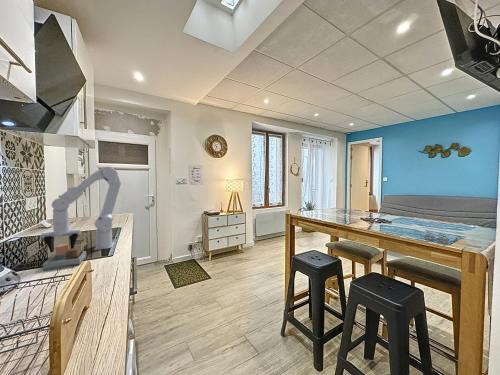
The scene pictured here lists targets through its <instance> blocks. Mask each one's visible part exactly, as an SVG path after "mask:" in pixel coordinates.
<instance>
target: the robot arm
mask: <svg viewBox="0 0 500 375" xmlns="http://www.w3.org/2000/svg"><path fill="white" fill-rule="evenodd" d="M101 180H105V181H106V182H107V184H108V185H109V186H108V188H107V193H106V196H105V199H104V202H103V206H102V209H101V212H100V214H99V215H98V218H97V219H96V220H95V222H94V226H95V228H97V229H96V230H95V248H93V250H94V251H97V250H98V251H99V250H104V249H105V250H106V249H112V248H113V246H114V245H115V242H114V241H113V230H112V227H113V222H112V221H113V212H114V208H115V205H116V201H117V198H118V195H119V191H120V188H121V180H120V178H119V172H117V170H116V169H115V167H112V166H105V167H104V166H103V167H101V168H99V169H98V170H96V171H94V172H93V173H92V174H90V175H89V176H88V177H87V178H85V179H84V180H83V181H82V182H81V183H80V184H78V185H77V186H71V187H67V189H66V191H65V192H63V193H62V194H59V195H58V196H57V197H58V198H56V199H54V200H52V202H51V207H52V208H53V210H52V226H53V227H52V228H53V231H52V232H51V231H50V232H43V233H41V234H40V238H41V239H43V242H44V243H45V245H46V246H47V247H48V249H49V252H50V253H53V252H55V237H61V236H62V237H63V236H69V243H70V249H71V248H75V245H76V241H77V240H78V238H79V235H81V234H82V230H81V229H70V219H69V218H70V217H69V216H70V215H69V207H70V204H73V203H74V202H75V201H77V200H78V199H79V198H80V197H82V196H83V195H84V191H85V190H86V189H87V188H89V187H90V186H91V185H92V184H94V183H95V182H97V181H101Z"/></svg>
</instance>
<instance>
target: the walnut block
mask: <svg viewBox="0 0 500 375" xmlns="http://www.w3.org/2000/svg"><path fill="white" fill-rule="evenodd" d="M80 252H81V247H74V248H71V247H70V248H69V249H68V250H67V251H66V260H71V259H78V258H79V257H80Z"/></svg>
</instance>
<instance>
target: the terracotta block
mask: <svg viewBox="0 0 500 375" xmlns="http://www.w3.org/2000/svg"><path fill="white" fill-rule="evenodd" d="M68 249H70V243H65V244H64V243H63V244H62V243H61V244H58V245H57V246H55V255H58V254H66V251H67V250H68Z"/></svg>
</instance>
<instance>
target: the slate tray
mask: <svg viewBox="0 0 500 375" xmlns="http://www.w3.org/2000/svg"><path fill="white" fill-rule="evenodd" d="M86 258H87V250H82V251H81V250H80V257H79V258H78V259H71V260H66V254H58V255H56V254H54V255H52V256H51V257H49V258H48V259H47V260H46V261H45V262H43V263H42V271H43V272H44V271H50V270H57V269H63V268H69V267H71V268H72V267H76V266H77V267H78V266H81V264H83V262H84V261H85V259H86ZM83 260H84V261H83ZM82 261H83V262H82Z"/></svg>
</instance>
